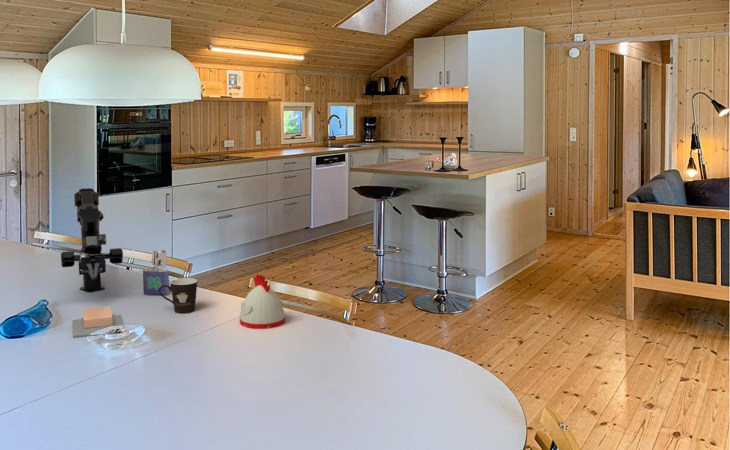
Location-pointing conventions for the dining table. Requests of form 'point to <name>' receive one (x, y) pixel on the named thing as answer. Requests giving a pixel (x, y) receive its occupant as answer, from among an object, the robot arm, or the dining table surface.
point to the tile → (97, 317)
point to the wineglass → (159, 259)
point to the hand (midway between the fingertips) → (94, 279)
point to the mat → (82, 332)
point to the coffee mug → (182, 294)
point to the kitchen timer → (261, 307)
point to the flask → (155, 281)
